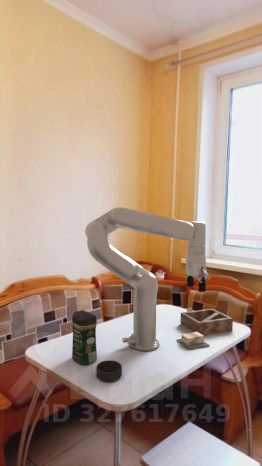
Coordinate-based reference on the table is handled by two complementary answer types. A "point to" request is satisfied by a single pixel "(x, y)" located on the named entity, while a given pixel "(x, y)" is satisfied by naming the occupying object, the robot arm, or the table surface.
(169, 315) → the table surface
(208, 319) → the lever
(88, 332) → the coffee jar
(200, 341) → the tan rectangular block
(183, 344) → the rubber mat
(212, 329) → the block
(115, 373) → the black round bowl
